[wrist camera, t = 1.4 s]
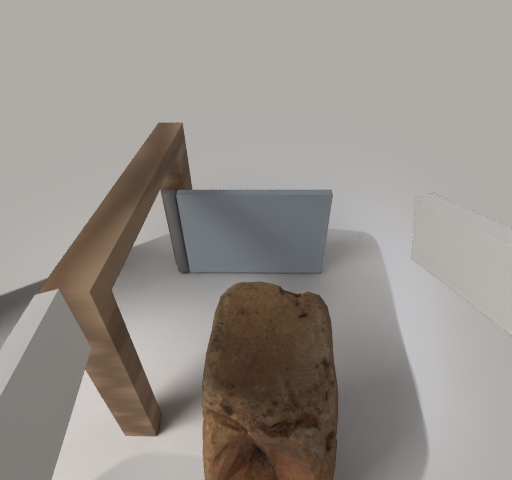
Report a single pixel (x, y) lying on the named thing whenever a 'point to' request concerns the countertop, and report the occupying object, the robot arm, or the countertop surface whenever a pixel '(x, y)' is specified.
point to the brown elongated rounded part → (269, 387)
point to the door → (248, 229)
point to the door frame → (108, 268)
